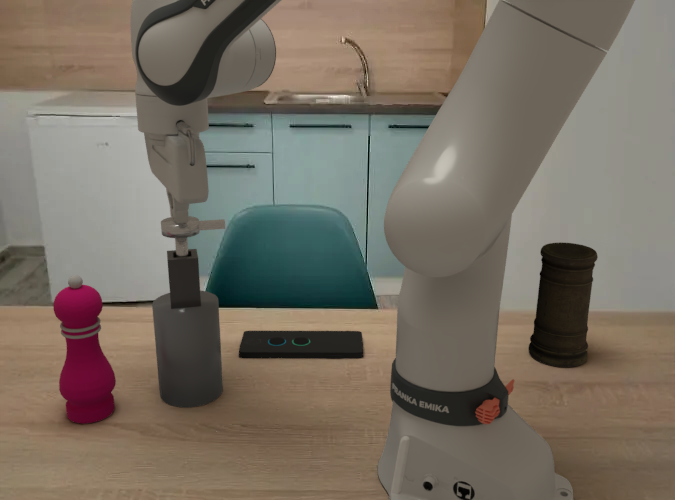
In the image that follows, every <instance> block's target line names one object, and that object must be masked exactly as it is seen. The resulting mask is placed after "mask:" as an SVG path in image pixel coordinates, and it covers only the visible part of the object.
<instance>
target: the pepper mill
mask: <svg viewBox="0 0 675 500" xmlns="http://www.w3.org/2000/svg"><path fill="white" fill-rule="evenodd" d="M83 282H84V281H83V278H82V277H81V275H78V274H73V275H70V277H69V278H68V281H67V283H68V286H67V287H64V288H62V289H61V290H60V291H58V293H57V294H56V296H55V297H54V300H53V313H54V315H55V317H56V318H57V319H58V320H59V321H60V324H59V327H60V330H61V331H60V334H61V336H62V337H64V338H65V342H66V344H65V345H66V356H65V361H64V364H63V365H62V369H61V372H60V376H59V382H58V384H59V385H58V387H59V388H58V390H59V394H60V395H61V396H62V398H63V399H64V400H65V401H66V402H65V411H66V417H67V418H68V419H69V421H71V422H73V423H76V424H92V423H97V422H99V421H103V420H105V419H106V418H108V417H109V416H111V415H112V414H113V413H114V411H115V408H116V403H115V398H114V397H115V396H114V395H113V391H114V389H115V387H116V385H117V380H116V375H115V371H114V369H113V367H112V365H111V363H110V361H109V359H107V357H106V356H105V354H104V352H103V349H102V348H101V344H100V339H99V332H100V331H101V330H102V326H101V319H100V317H99V315H100V314H101V313H102V310H103V307H104V305H103V299H102V296H101V294H100V293H99V291H98V290H97V289H95V287H92V286H91V285H88V284H84V283H83Z"/></svg>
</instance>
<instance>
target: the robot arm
mask: <svg viewBox="0 0 675 500" xmlns="http://www.w3.org/2000/svg"><path fill="white" fill-rule="evenodd" d="M635 1H636V0H498V2H497V3H496V6H495V7H494V9H493V11H492V13H491V15H490V17H489V19H488V21H487V23H486V25H485V27H484V28H483V31H482V32H481V35H480V36H479V38H478V39H477V42H476V44H475V46H474V48H473V49H472V52H471V54H470V55H469V58H468V60H467V62H466V64H465V65H464V68H463V69H462V71H461V73H460V74H459V76H458V78H457V79H456V82H455V84H454V85H453V87H452V88H451V90H450V91H449V93H448V94H447V96H446V98H445V99H444V101H443V103H442V104H441V106H440V108H439V109H438V111H437V113H436V115H435V116H434V118H433V120H432V121H431V122H430V125H429V127H428V128H427V130H426V132H425V133H424V135H423V136H422V138H421V140H420V141H419V143H418V145H417V147H416V148H415V150H414V152H413V153H412V156H411V157H410V159H409V161H408V162H407V164H406V166H405V168H404V170H403V171H402V173H401V174H400V176H399V179H398V180H397V182H396V184H395V186H394V188H393V189H392V192H391V193H390V196H389V198H388V202H387V205H386V208H385V213H384V218H383V232H384V236H385V240H386V244H387V246H388V247H389V250H390V251H391V253H392V255H393V256H394V257H395V259H396V260H397V261H398V262H399V263H400V264H402V265H403V266H404V271H403V277H402V280H401V281H402V282H401V285H400V286H401V287H400V291H399V292H398V293H399V294H398V297H397V298H398V299H397V309H396V310H397V311H396V313H397V314H396V336H395V337H396V338H395V339H396V340H395V341H396V342H395V358H394V359H393V361H392V363H391V372H390V389H389V392H390V393H389V394H390V400H391V401H392V404H391V405H392V406H391V413H390V420H389V421H390V422H389V426H388V432H387V436H386V440H385V444H384V447H383V451H382V454H381V456H380V458H379V461H378V464H377V474H378V478H379V481H380V483H381V485H382V486H383V487H384V489H385V490H386V492H387V494H388V497H389V500H574V490H573V487H572V484H571V482H570V481H569V479H567V478H566V477H564V476H562V475H560V474H559V473H556V472H555V471H556V469H555V460H554V455H553V451H552V449H551V446H550V444H549V443H548V441H547V440H546V439H545V438H543V437H542V436H541V435H540V434H539V433H538V432H537V431H536V430H535V429H534V428H533V427H532V426H531V425H530V424H529V423H528V422H527V421H526V420H525V419H524V418H523V417H522V416H520V415H519V413H518V412H517V411H516V410H515V409H513V407H511V405H510V404H509V395H510V394H511V393H512V392H513V391H514V388H515V386H514V383H515V379H511V380H510V381H509V382H508V383H507V384H506V385H505V384H504V383H503V382H502V380H501V378H500V376H499V373H498V371H497V369H496V367H495V366H496V365H495V364H496V363H495V362H496V352H497V342H498V341H497V340H498V333H499V332H498V331H499V317H500V316H499V315H500V308H501V307H500V306H501V301H502V294H503V286H504V279H505V272H506V265H507V259H508V257H507V256H508V250H509V244H510V235H511V225H512V217H513V213H514V211H515V210H516V208H517V206H518V204H519V203H520V201H521V199H522V197H523V196H524V194H525V193H526V190H527V189H528V187H529V186H530V183H531V182H532V180H533V178H534V177H535V176H536V174H537V172H538V170H539V168H540V167H541V165H542V163H543V161H544V160H545V158H546V156H547V154H548V152H549V151H550V150H551V148H552V145H553V144H554V142H555V140H556V139H557V137H558V135H559V134H560V132H561V130H562V129H563V126H564V125H565V123H566V122H567V120H568V118H569V117H570V115H571V113H572V112H573V110H574V108H575V107H576V105H577V103H578V102H579V100H580V99H581V97H582V96H583V94H584V92H585V90H586V89H587V87H588V86H589V84H590V82H591V80H592V79H593V77H594V75H595V74H596V72H597V70H598V69H599V67H600V65H601V63H602V62H603V61H604V59H605V57H606V55H607V53H608V52H609V51H610V49H611V47H612V46H613V44H614V42H615V40H616V39H617V37H618V35H619V33H620V32H621V29H622V27H623V25H624V24H625V21H626V20H627V18H628V16H629V14H630V12H631V9H632V8H633V5H634V3H635ZM281 2H282V0H132V1H131V5H130V7H131V8H130V44H131V56H132V60H133V62H134V63H133V64H134V65H135V68H136V84H135V89H134V93H135V105H136V106H135V107H136V118H137V130H138V131H139V132H140V133H143V135H144V142H145V147H146V155H147V159H148V160H147V161H148V164H149V169H150V171H151V173H152V175H154V177H155V178H156V179H157V180H158V181H159V182H160V183H161V184H162V186H164V188H165V189H166V191H165V192H166V195H167V199H168V203H169V209H170V210H169V211H170V217H172V218H173V219H174V221H175V222H176V223H177V224H182V223H187V222H188V220H189V217H188V216H189V210H190V209H189V208H190V205H191V204H192V205H193V204H200V203H206V202H207V201H208V197H209V191H210V190H209V180H208V179H209V178H208V169H207V168H208V167H207V159H206V151H205V146H204V142H203V141H202V140H201V139H200V133H202V132H206V131H208V130H209V129H210V128H209V127H210V126H209V125H210V124H209V105H208V99H212V98H217V97H218V98H219V97H223V96H230V95H233V94H238V93H239V94H240V93H244V92H248V91H251V90H253V89H256V88H258V87H261V86H262V85H264V83H266V82H267V81H268V80H269V78H270V77H271V75H272V73H273V71H274V69H275V65H276V59H277V48H276V47H277V46H276V43H275V42H276V41H275V38H274V34H273V32H272V31H271V29H270V27H269V26H268V24H267V22H265V21H264V20H263V17H265V15H267V14H268V13H269V12H270V11H272V9H274V8H275V7H276V6H277V5H279V3H281Z"/></svg>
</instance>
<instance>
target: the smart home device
mask: <svg viewBox="0 0 675 500" xmlns="http://www.w3.org/2000/svg"><path fill="white" fill-rule="evenodd" d="M238 358H240V359H282V360H283V359H286V360H288V359H294V360H295V359H317V360H318V359H322V360H323V359H324V360H325V359H326V360H327V359H329V360H330V359H331V360H332V359H334V360H335V359H339V360H340V359H345V360H347V359H348V360H349V359H357V360H358V359H363V358H364V342H363V332H362V331H359V330H245V331H244V330H243V333H242V337H241V341H240V344H239V348H238Z"/></svg>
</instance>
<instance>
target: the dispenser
mask: <svg viewBox="0 0 675 500" xmlns="http://www.w3.org/2000/svg"><path fill="white" fill-rule="evenodd" d="M166 257H167V270H168V274H167V275H168V282H169V283H168V284H169V292H167V293H164V294H162V295H160V296H158V297H157V298H155V299H154V300H153V302H152V304H151V307H152V309H151V310H152V317H153V318H152V319H153V321H152V322H153V329H154V332H153V333H154V343H155V354H156V365H157V366H156V367H157V377H158V388H159V389H158V390H159V398H160V400H161V401H162V402H163V403H165V404H167V405H168V406H171V407H175V408H183V409H184V408H195V407H196V408H197V407H202V406H205V405H207V404H208V405H209V404H210V403H212V402H214V401H215V400H216V401H217V399H218V398H219V397H220V396H221V395H222V393H223V391H224V386H223V383H224V382H223V367H222V366H223V365H222V363H223V362H222V346H221V345H222V343H221V328H220V326H221V325H220V324H221V323H220V310H219V309H220V307H219V305H220V304H219V298H218V296H217V295H216V294H215V293H213V292H209V291H205V290H201V282H200V269H199V268H200V266H199V263H200V262H199V255H198V250H197V248H188V257H179V258H176V249H175V250H173V249H172V250H167V251H166Z"/></svg>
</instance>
